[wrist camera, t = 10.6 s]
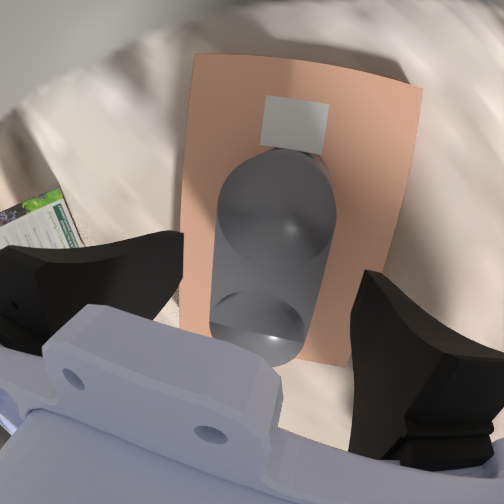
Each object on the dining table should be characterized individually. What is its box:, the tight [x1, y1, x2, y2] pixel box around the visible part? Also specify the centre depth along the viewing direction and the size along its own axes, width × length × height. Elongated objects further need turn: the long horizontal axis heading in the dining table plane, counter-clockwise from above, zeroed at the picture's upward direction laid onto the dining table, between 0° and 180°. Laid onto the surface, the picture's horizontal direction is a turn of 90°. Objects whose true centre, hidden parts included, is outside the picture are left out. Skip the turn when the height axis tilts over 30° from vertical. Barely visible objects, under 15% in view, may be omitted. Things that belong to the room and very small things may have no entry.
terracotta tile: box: [179, 54, 423, 367], centre depth 17 cm, size 18×12×2 cm, turn 174°
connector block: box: [209, 95, 337, 367], centre depth 13 cm, size 11×4×6 cm, turn 174°
